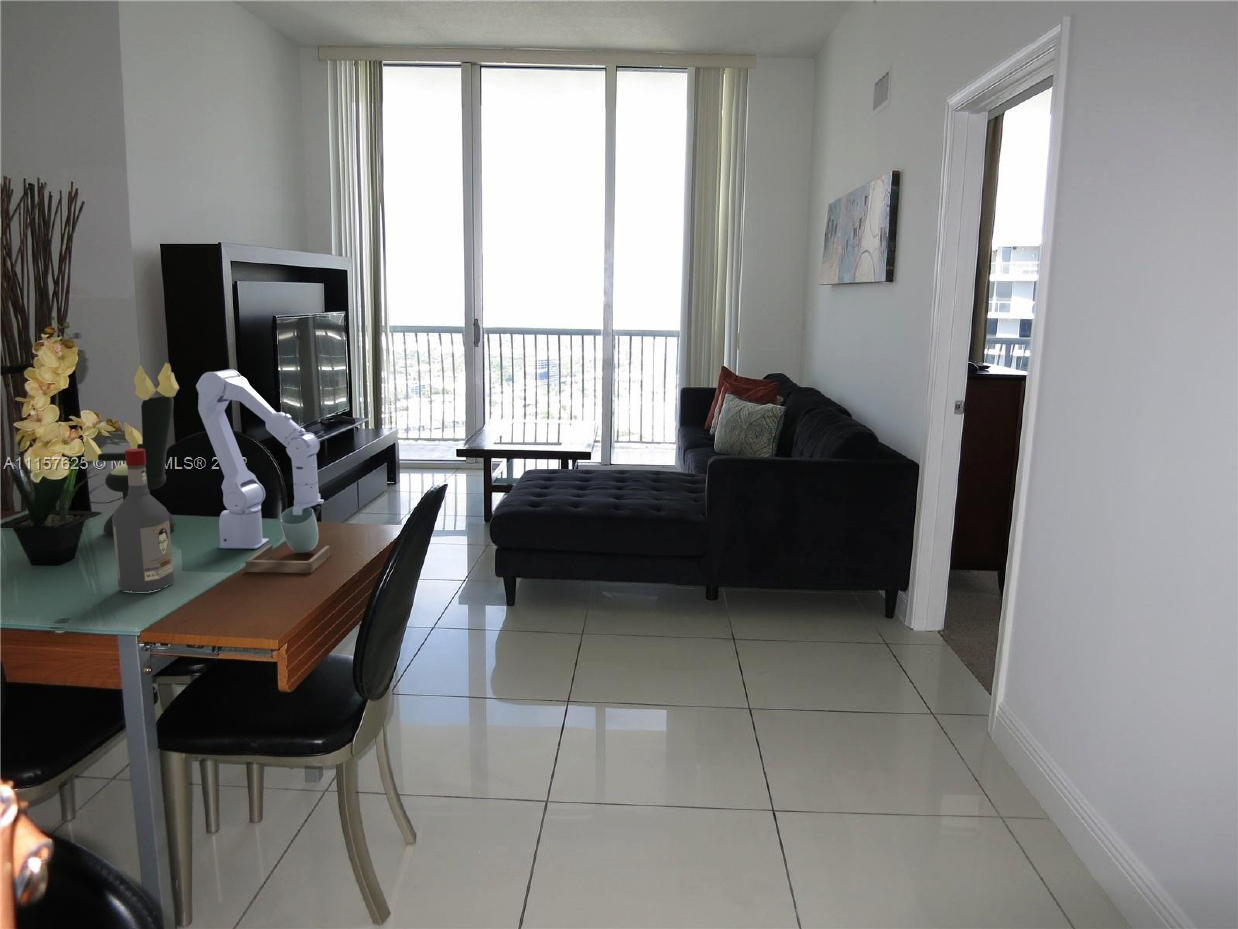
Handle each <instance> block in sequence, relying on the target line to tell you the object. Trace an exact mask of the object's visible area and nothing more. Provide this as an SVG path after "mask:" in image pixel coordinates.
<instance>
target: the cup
mask: <svg viewBox="0 0 1238 929" xmlns="http://www.w3.org/2000/svg"><path fill="white" fill-rule="evenodd" d="M293 507H294V506H291V507H289V508H287V509H285V510H284V511H283V512H282V513H281V515H280V516H279V517H280V518H279V521H280V526H281V530H282V532H283V537H284V539H285V542H286V544H287V546H288V548H290V550H292V551H294V552H295V553H300V554H301V553H302V554H304V553H309V552H310V551H313V550H314V549H315V548H316V547H317V545H318V543H319V527H318V522H317V520H316V518H315V514H314V511H313V509H312V508H310V507H308V508H305V509H303V512H302V515H293Z"/></svg>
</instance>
